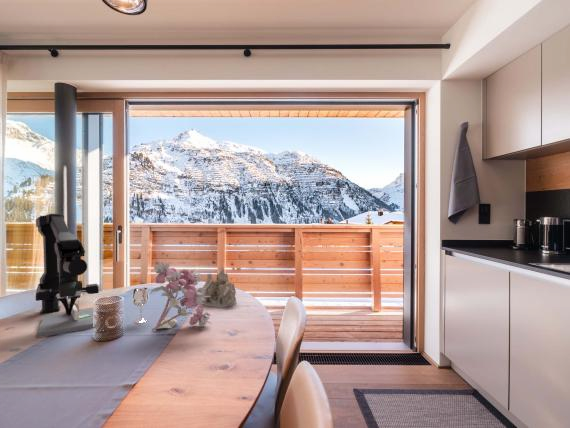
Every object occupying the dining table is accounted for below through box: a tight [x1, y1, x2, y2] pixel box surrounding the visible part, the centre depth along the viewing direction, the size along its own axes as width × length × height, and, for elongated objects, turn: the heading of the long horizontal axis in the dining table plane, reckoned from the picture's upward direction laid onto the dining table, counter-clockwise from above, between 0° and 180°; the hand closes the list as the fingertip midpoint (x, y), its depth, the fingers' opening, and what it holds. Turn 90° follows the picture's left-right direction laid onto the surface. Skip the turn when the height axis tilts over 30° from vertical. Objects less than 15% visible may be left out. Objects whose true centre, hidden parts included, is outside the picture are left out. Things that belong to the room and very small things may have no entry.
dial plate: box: [36, 307, 94, 338], centre depth 116 cm, size 22×16×2 cm
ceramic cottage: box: [201, 267, 237, 308], centre depth 140 cm, size 16×16×15 cm
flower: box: [149, 259, 212, 332], centre depth 110 cm, size 20×22×24 cm
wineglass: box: [131, 287, 150, 324], centre depth 117 cm, size 6×6×12 cm
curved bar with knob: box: [64, 300, 80, 320], centre depth 119 cm, size 15×4×4 cm, turn 40°
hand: (69, 315), depth 114 cm, fingers closed
